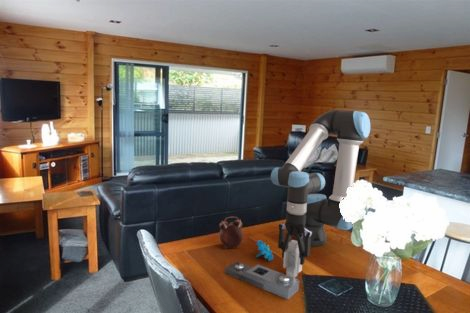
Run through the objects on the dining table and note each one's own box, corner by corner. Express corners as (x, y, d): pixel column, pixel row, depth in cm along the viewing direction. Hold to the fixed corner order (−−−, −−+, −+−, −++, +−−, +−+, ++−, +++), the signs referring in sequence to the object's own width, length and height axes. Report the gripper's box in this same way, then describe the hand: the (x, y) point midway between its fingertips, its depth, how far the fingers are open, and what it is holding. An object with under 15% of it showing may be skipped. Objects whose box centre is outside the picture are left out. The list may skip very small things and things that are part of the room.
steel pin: (290, 272, 139) (292, 239, 136) (297, 275, 137) (299, 241, 134) (286, 275, 136) (288, 242, 134) (293, 278, 134) (295, 244, 132)
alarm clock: (240, 244, 163) (241, 214, 161) (243, 249, 159) (244, 217, 156) (217, 246, 161) (218, 215, 158) (220, 250, 156) (221, 219, 154)
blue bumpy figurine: (271, 261, 144) (256, 242, 146) (260, 269, 145) (246, 250, 147) (277, 254, 154) (263, 236, 156) (267, 262, 156) (253, 243, 158)
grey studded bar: (237, 265, 143) (237, 254, 142) (298, 290, 126) (299, 277, 125) (224, 272, 136) (225, 261, 135) (287, 299, 120) (288, 286, 119)
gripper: (270, 209, 135) (267, 264, 138) (314, 220, 124) (309, 280, 128) (280, 204, 141) (277, 258, 144) (323, 215, 130) (318, 273, 133)
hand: (292, 268), depth 136 cm, fingers open, 5 cm apart
